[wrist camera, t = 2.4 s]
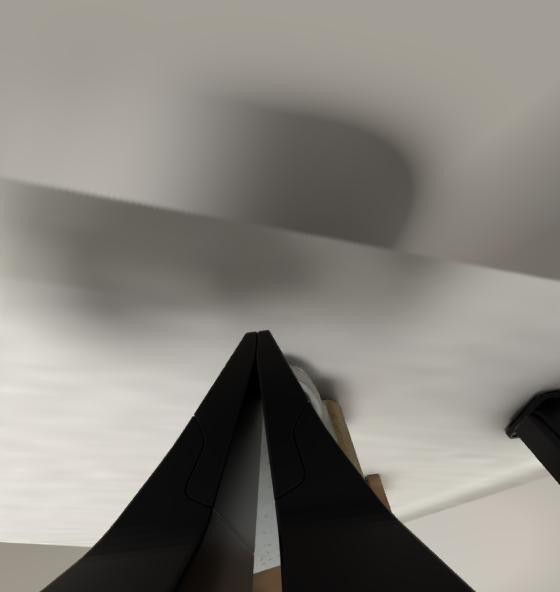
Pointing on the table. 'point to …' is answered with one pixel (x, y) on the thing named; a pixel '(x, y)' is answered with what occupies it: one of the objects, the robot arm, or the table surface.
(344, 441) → the ceramic mug
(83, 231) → the table surface
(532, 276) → the table surface
